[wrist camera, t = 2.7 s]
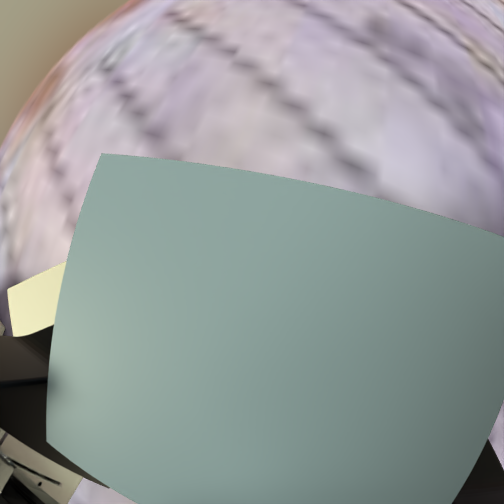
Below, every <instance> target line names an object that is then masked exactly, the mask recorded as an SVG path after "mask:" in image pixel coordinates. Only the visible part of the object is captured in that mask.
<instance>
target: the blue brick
mask: <svg viewBox="0 0 504 504" xmlns="http://www.w3.org/2000/svg"><path fill="white" fill-rule="evenodd" d="M503 400H504V237H503V236H500V235H497V234H494V233H492V232H489V231H486V230H483V229H480V228H477V227H474V226H471V225H468V224H465V223H462V222H459V221H456V220H453V219H449V218H446V217H443V216H440V215H436V214H433V213H430V212H426V211H423V210H419V209H416V208H412V207H409V206H405V205H402V204H398V203H394V202H390V201H387V200H383V199H379V198H375V197H371V196H367V195H363V194H359V193H355V192H350V191H346V190H342V189H337V188H333V187H328V186H324V185H319V184H314V183H310V182H305V181H300V180H295V179H290V178H285V177H279V176H274V175H268V174H263V173H257V172H251V171H245V170H239V169H233V168H227V167H220V166H213V165H206V164H199V163H192V162H184V161H176V160H167V159H158V158H149V157H139V156H128V155H116V154H103V153H102V154H101V156H100V159H99V161H98V164H97V166H96V169H95V171H94V174H93V177H92V180H91V182H90V185H89V188H88V191H87V194H86V197H85V199H84V202H83V206H82V209H81V212H80V215H79V218H78V221H77V225H76V228H75V232H74V235H73V239H72V242H71V246H70V250H69V254H68V258H67V262H66V266H65V270H64V275H63V279H62V284H61V289H60V294H59V299H58V304H57V310H56V316H55V322H54V328H53V336H52V343H51V352H50V361H49V372H48V386H47V410H46V438H47V442H48V443H49V444H50V445H51V446H53V447H54V448H55V449H56V450H57V451H59V452H60V453H61V454H63V455H64V456H65V457H66V458H68V459H69V460H70V461H72V462H73V463H74V464H76V465H77V466H79V467H80V468H81V469H83V470H84V471H86V472H87V473H88V474H90V475H91V476H93V477H94V478H96V479H97V480H99V481H100V482H102V483H104V484H105V485H107V486H108V487H110V488H112V489H113V490H115V491H116V492H118V493H120V494H122V495H123V496H125V497H127V498H129V499H130V500H132V501H134V502H136V503H138V504H452V502H453V501H454V499H455V498H456V496H457V494H458V493H459V491H460V490H461V488H462V486H463V485H464V483H465V481H466V479H467V478H468V476H469V474H470V472H471V471H472V469H473V467H474V465H475V463H476V461H477V459H478V457H479V455H480V454H481V452H482V449H483V447H484V445H485V443H486V441H487V439H488V437H489V435H490V432H491V430H492V428H493V425H494V423H495V421H496V418H497V416H498V413H499V411H500V408H501V406H502V403H503Z"/></svg>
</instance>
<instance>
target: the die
mask: <svg viewBox="0 0 504 504" xmlns="http://www.w3.org/2000/svg"><path fill="white" fill-rule="evenodd" d="M4 330H5V327H4V325H3V324H2V323H1V321H0V335H3V332H4Z"/></svg>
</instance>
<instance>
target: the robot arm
mask: <svg viewBox="0 0 504 504" xmlns="http://www.w3.org/2000/svg"><path fill="white" fill-rule="evenodd" d="M53 328H54V324H53V325H51V326H49V327H46V328H44V329H41V330H39V331H37V332H34V333H32V334H29V335H25V336H18V337H12V336H3V335H0V504H68V502H69V500H70V499H71V497H72V495H73V494H74V492H75V490H76V489H77V487H78V485H79V484H80V482H81V480H82V479H83V477H84V478H86V479H88V480H91V481H93V482H95V483H97V484H100V485H102V486H104V487H107V488H110V487H108V486H107V485H105V484H104V483H102V482H100V481H99V480H97V479H96V478H94V477H93V476H91V475H90V474H88V473H87V472H86V471H84V470H83V469H81V468H80V467H79V466H77V465H76V464H74V463H73V462H72V461H70V460H69V459H68V458H66V457H65V456H64V455H63V454H61V453H60V452H59V451H57V450H56V449H55V448H54V447H53V446H51V445H50V444H49V443H48V442H47V438H46V410H47V386H48V372H49V361H50V352H51V343H52V336H53ZM452 504H504V470H503V468H502V465H501V463H500V461H499V459H498V457H497V455H496V453H495V451H494V449H493V447H492V445H491V443H490V441H489V440H488V439H487V441H486V443H485V445H484V447H483V449H482V452H481V454H480V455H479V457H478V459H477V461H476V463H475V465H474V467H473V469H472V471H471V472H470V474H469V476H468V478H467V479H466V481H465V483H464V485H463V486H462V488H461V490H460V491H459V493H458V494H457V496H456V498H455V499H454V501H453V502H452Z"/></svg>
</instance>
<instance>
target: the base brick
mask: <svg viewBox="0 0 504 504" xmlns="http://www.w3.org/2000/svg"><path fill="white" fill-rule="evenodd" d="M66 262H67V261H66ZM66 262H63V263H61V264H59V265H57V266H55V267H52V268H50V269H48V270H46V271H44V272H42V273H40V274H37V275H35V276H33V277H31V278H29V279H27V280H25V281H23V282H21V283H19V284H17V285H15V286H13V287H11V288H9V289H7V292H8V302H9V310H10V318H11V325H12V331H13V337H18V336H25V335H29V334H32V333H34V332H37V331H39V330H41V329H44V328H46V327H49V326H51V325H53V324H54V322H55V316H56V310H57V304H58V299H59V294H60V289H61V284H62V279H63V275H64V270H65V266H66Z"/></svg>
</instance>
